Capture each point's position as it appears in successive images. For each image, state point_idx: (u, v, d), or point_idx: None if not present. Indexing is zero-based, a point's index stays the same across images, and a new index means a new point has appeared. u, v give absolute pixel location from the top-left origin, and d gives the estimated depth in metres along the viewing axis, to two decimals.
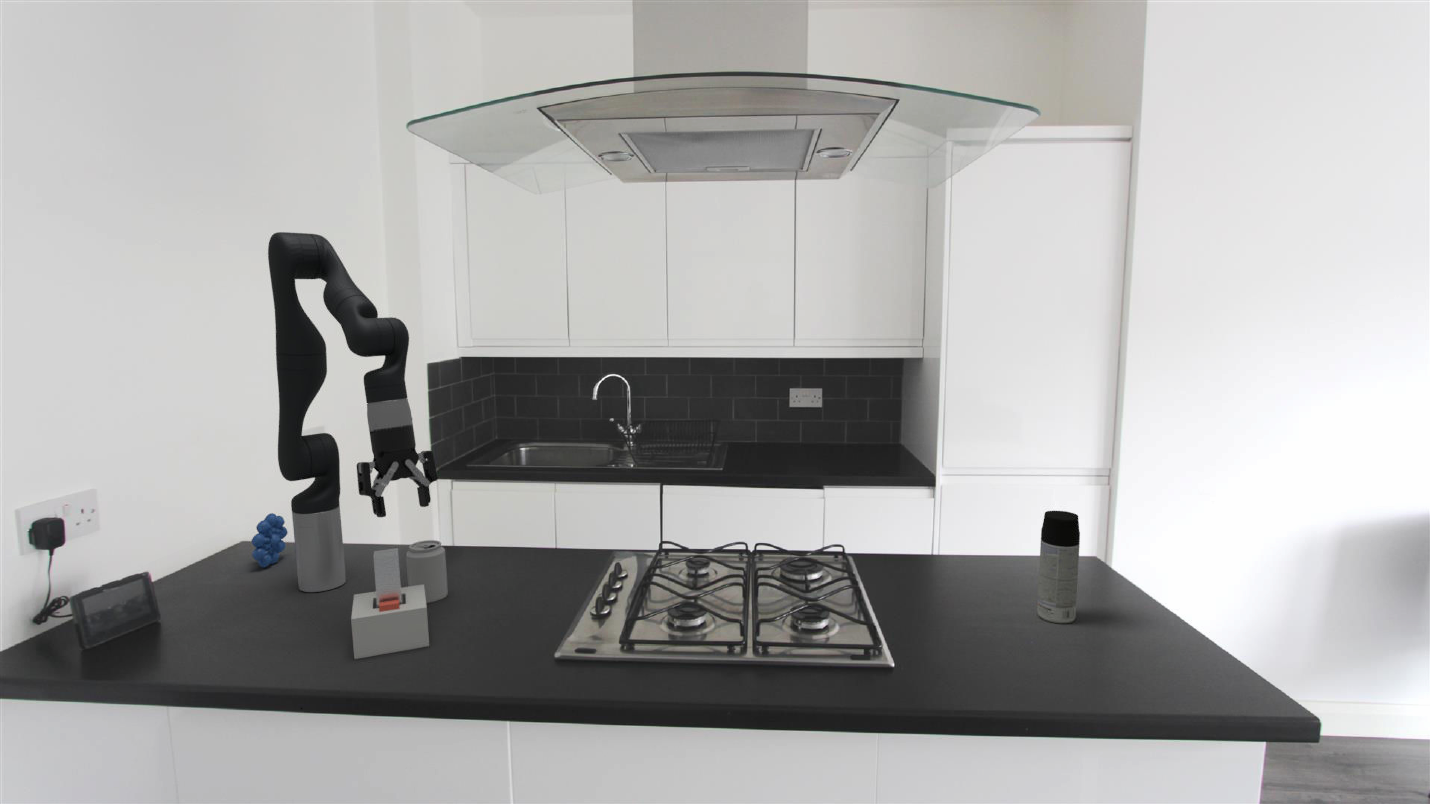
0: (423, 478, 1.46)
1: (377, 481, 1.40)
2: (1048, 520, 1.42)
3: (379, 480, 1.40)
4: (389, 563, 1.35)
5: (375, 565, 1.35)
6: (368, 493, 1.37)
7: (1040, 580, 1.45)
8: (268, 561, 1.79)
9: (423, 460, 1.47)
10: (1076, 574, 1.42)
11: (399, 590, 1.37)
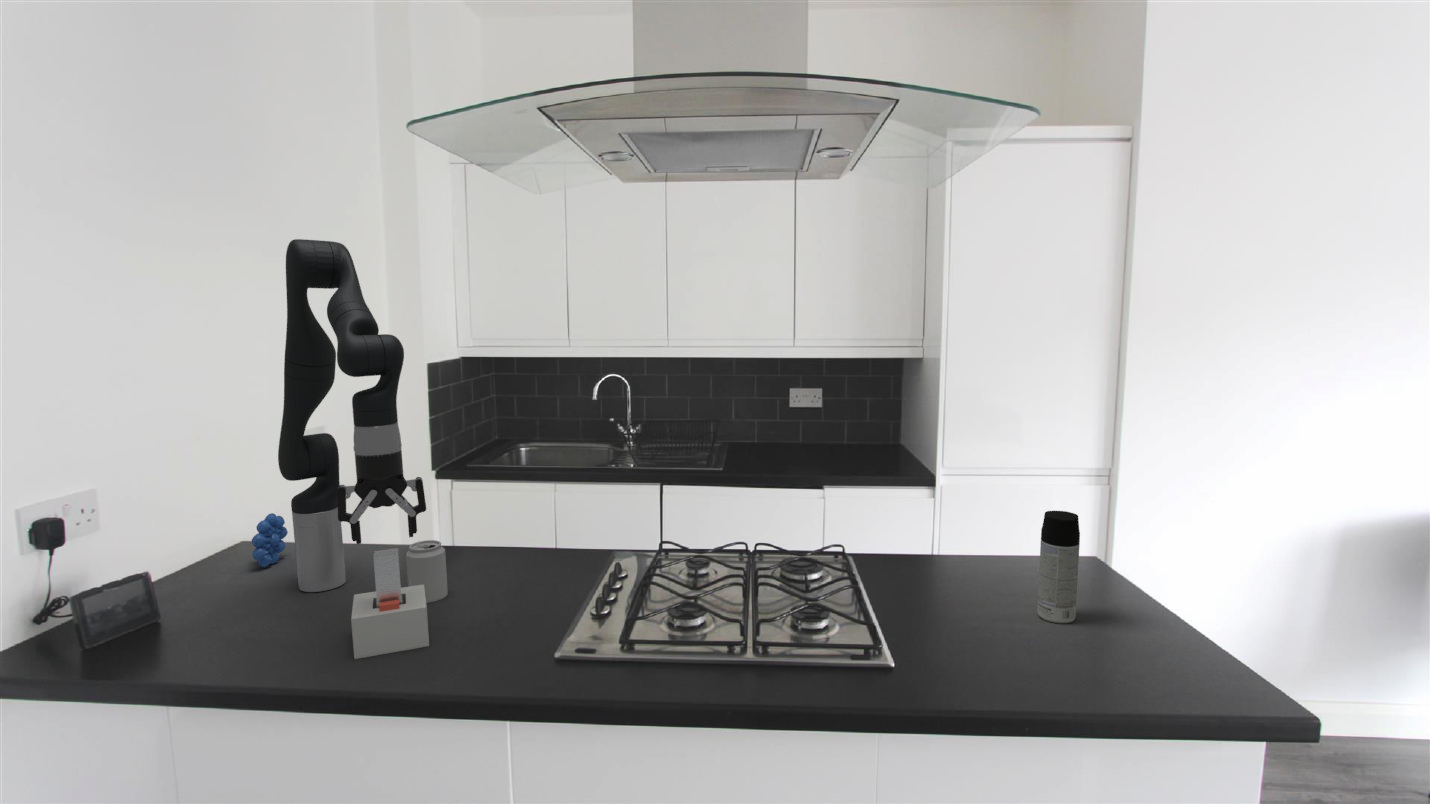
0: (408, 508, 1.36)
1: (357, 506, 1.34)
2: (1048, 520, 1.42)
3: (358, 506, 1.34)
4: (389, 563, 1.35)
5: (375, 565, 1.35)
6: (341, 519, 1.32)
7: (1040, 580, 1.45)
8: (268, 561, 1.79)
9: (412, 488, 1.37)
10: (1076, 574, 1.42)
11: (399, 590, 1.37)
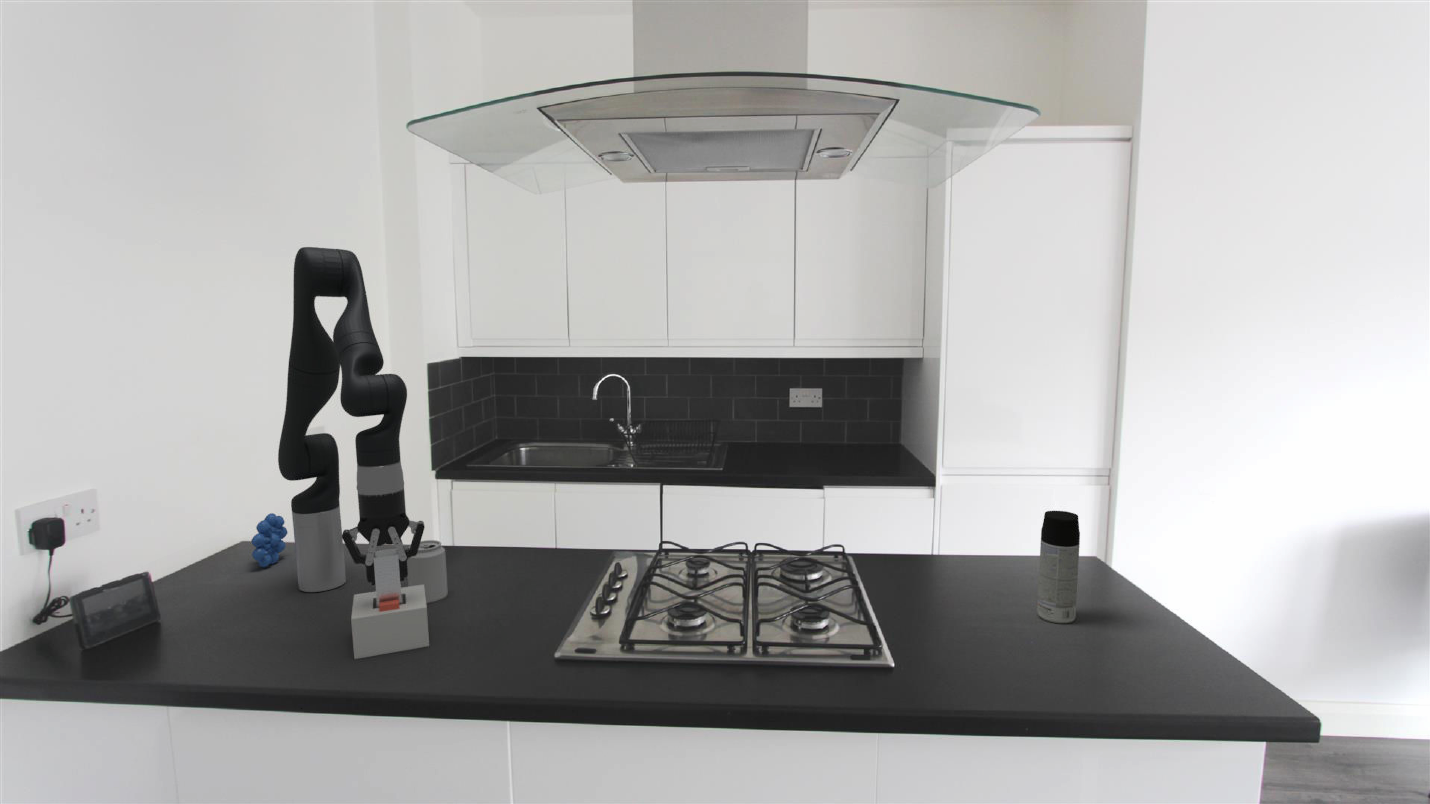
0: (402, 551, 1.37)
1: None
2: (1048, 520, 1.42)
3: (368, 547, 1.35)
4: (389, 564, 1.35)
5: (375, 565, 1.35)
6: (357, 561, 1.34)
7: (1040, 580, 1.45)
8: (268, 561, 1.79)
9: (412, 530, 1.38)
10: (1076, 574, 1.42)
11: (399, 590, 1.37)
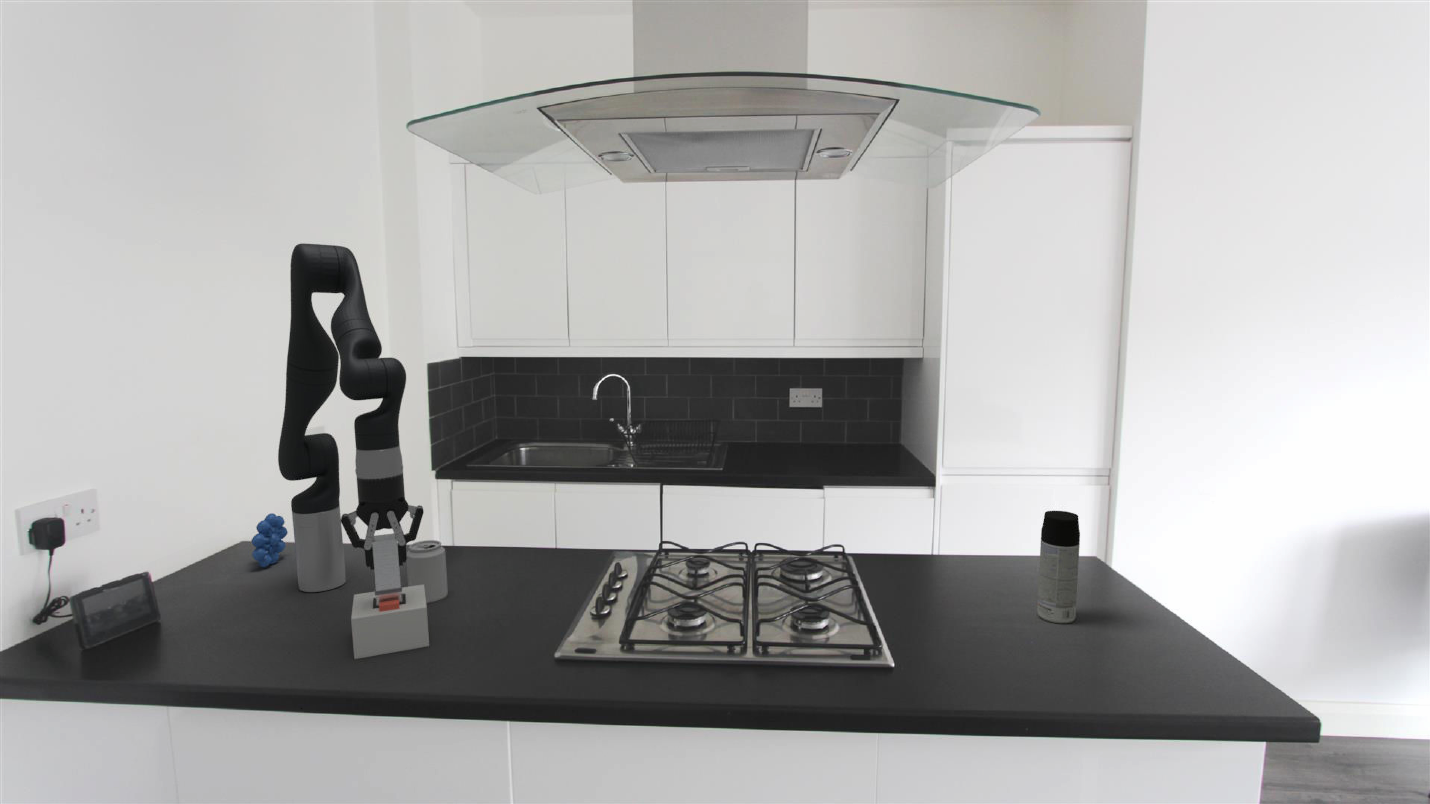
0: (400, 536, 1.36)
1: None
2: (1048, 520, 1.42)
3: None
4: (388, 548, 1.35)
5: (374, 549, 1.34)
6: (355, 546, 1.34)
7: (1040, 580, 1.45)
8: (268, 561, 1.79)
9: (411, 515, 1.37)
10: (1076, 574, 1.42)
11: (398, 575, 1.36)
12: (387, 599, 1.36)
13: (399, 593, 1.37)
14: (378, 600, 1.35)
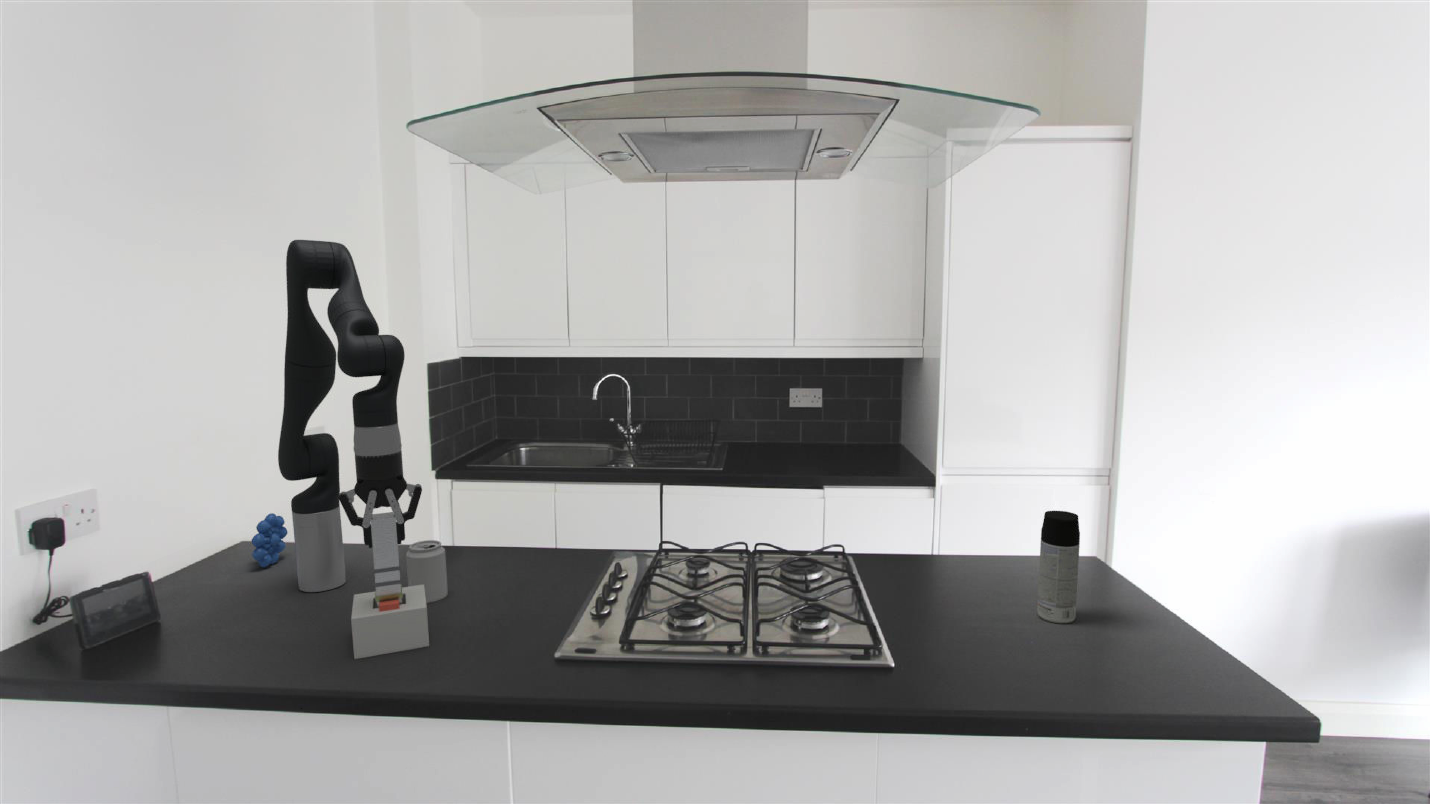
0: (399, 514, 1.36)
1: (365, 510, 1.35)
2: (1048, 520, 1.42)
3: (365, 510, 1.34)
4: (387, 526, 1.35)
5: (372, 527, 1.34)
6: (354, 523, 1.33)
7: (1040, 580, 1.45)
8: (268, 561, 1.79)
9: (409, 493, 1.37)
10: (1076, 574, 1.42)
11: (396, 553, 1.36)
12: (385, 577, 1.35)
13: (397, 572, 1.36)
14: (376, 578, 1.35)
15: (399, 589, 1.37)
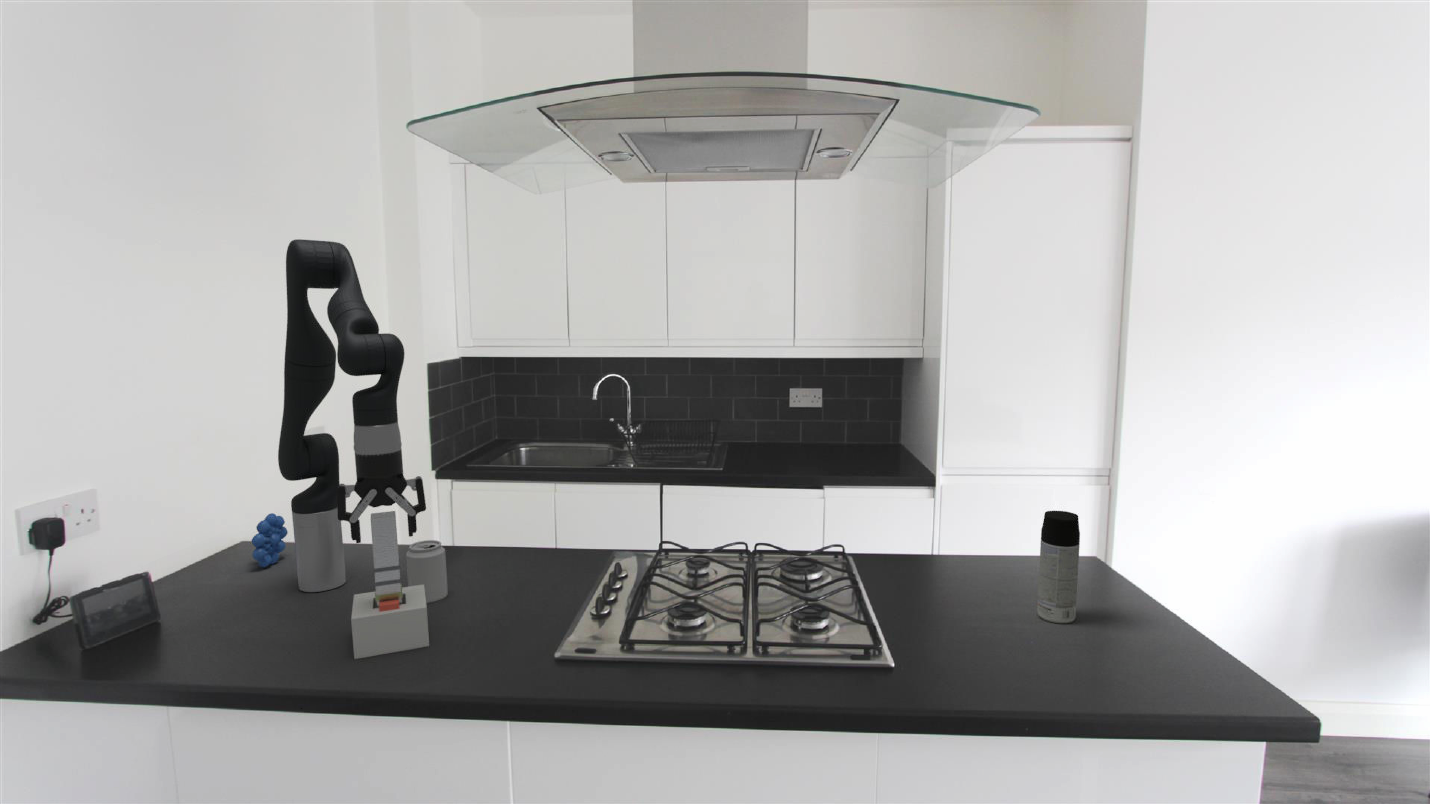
0: (408, 507, 1.36)
1: (357, 505, 1.34)
2: (1048, 520, 1.42)
3: (358, 505, 1.34)
4: (387, 525, 1.35)
5: (372, 527, 1.34)
6: (341, 518, 1.32)
7: (1040, 580, 1.45)
8: (268, 561, 1.79)
9: (412, 488, 1.37)
10: (1076, 574, 1.42)
11: (396, 552, 1.36)
12: (385, 577, 1.35)
13: (397, 571, 1.36)
14: (376, 578, 1.35)
15: (399, 588, 1.37)
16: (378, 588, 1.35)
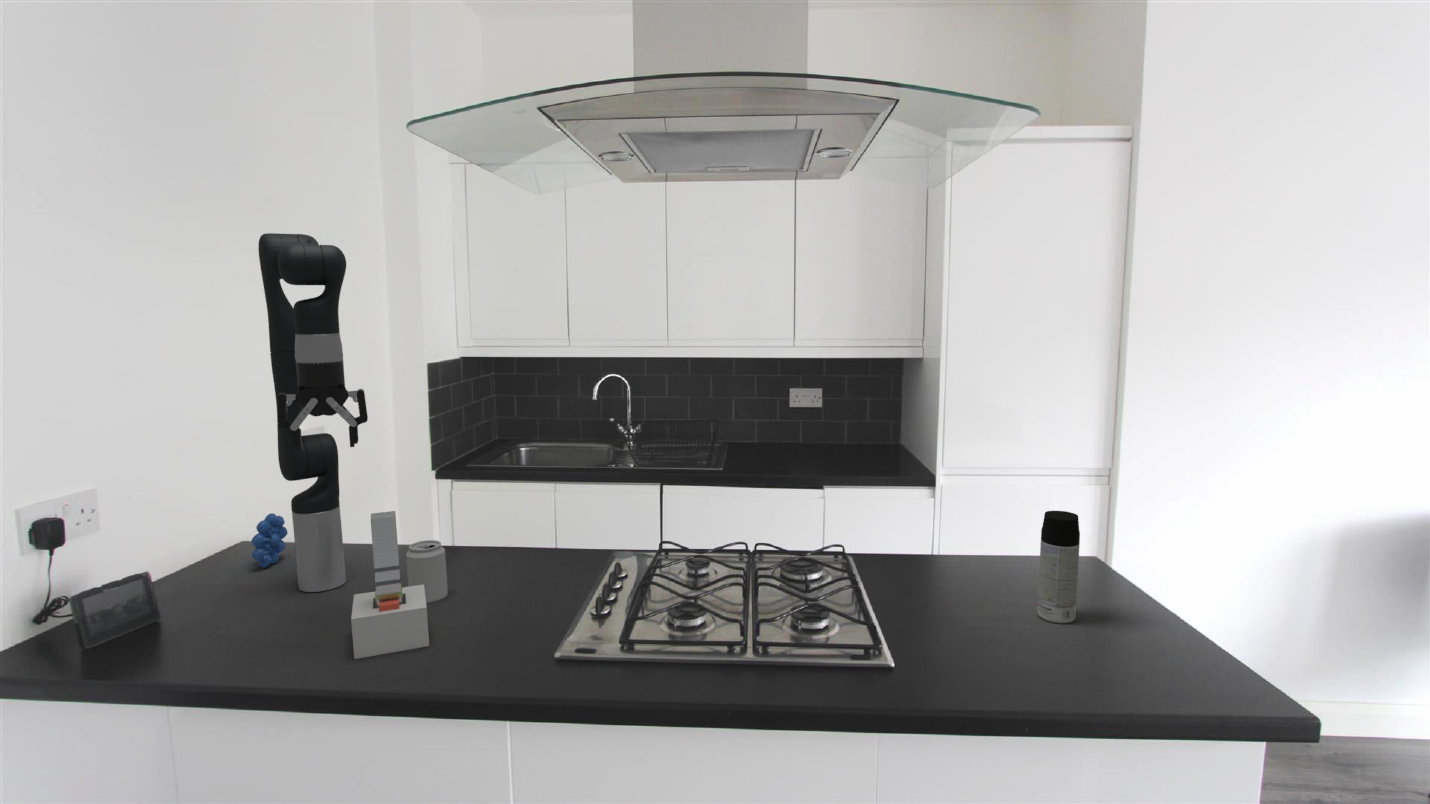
0: (349, 418, 1.39)
1: None
2: (1048, 520, 1.42)
3: (299, 413, 1.36)
4: (387, 525, 1.35)
5: (372, 527, 1.34)
6: (281, 425, 1.35)
7: (1040, 580, 1.45)
8: (268, 561, 1.79)
9: (354, 399, 1.40)
10: (1076, 574, 1.42)
11: (396, 552, 1.36)
12: (385, 577, 1.35)
13: (397, 571, 1.36)
14: (376, 578, 1.35)
15: (399, 588, 1.37)
16: (378, 588, 1.35)
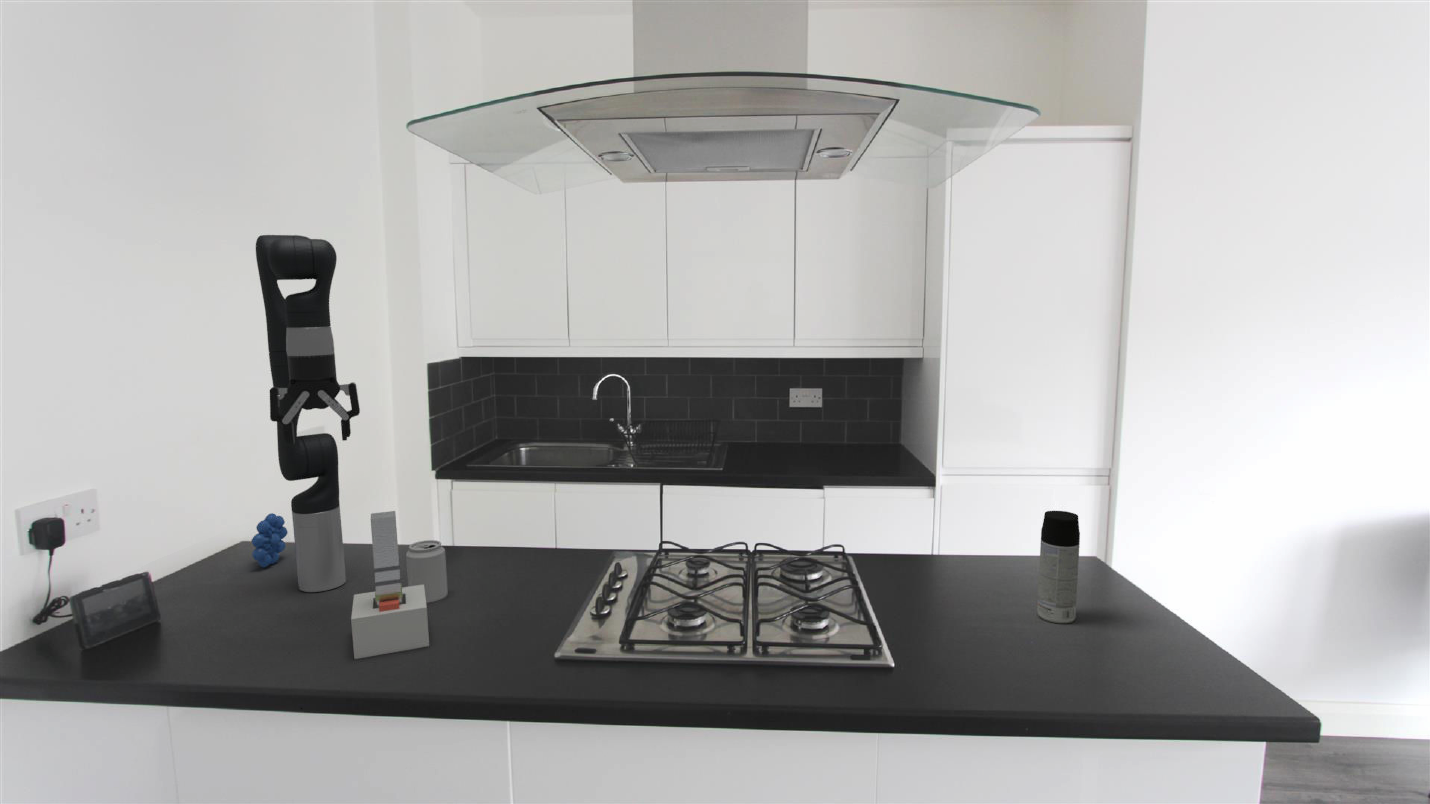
0: (341, 411, 1.39)
1: None
2: (1048, 520, 1.42)
3: None
4: (387, 525, 1.35)
5: (372, 527, 1.34)
6: (273, 419, 1.35)
7: (1040, 580, 1.45)
8: (268, 561, 1.79)
9: (345, 392, 1.40)
10: (1076, 574, 1.42)
11: (396, 552, 1.36)
12: (385, 577, 1.35)
13: (397, 571, 1.36)
14: (376, 578, 1.35)
15: (399, 588, 1.37)
16: (378, 588, 1.35)
